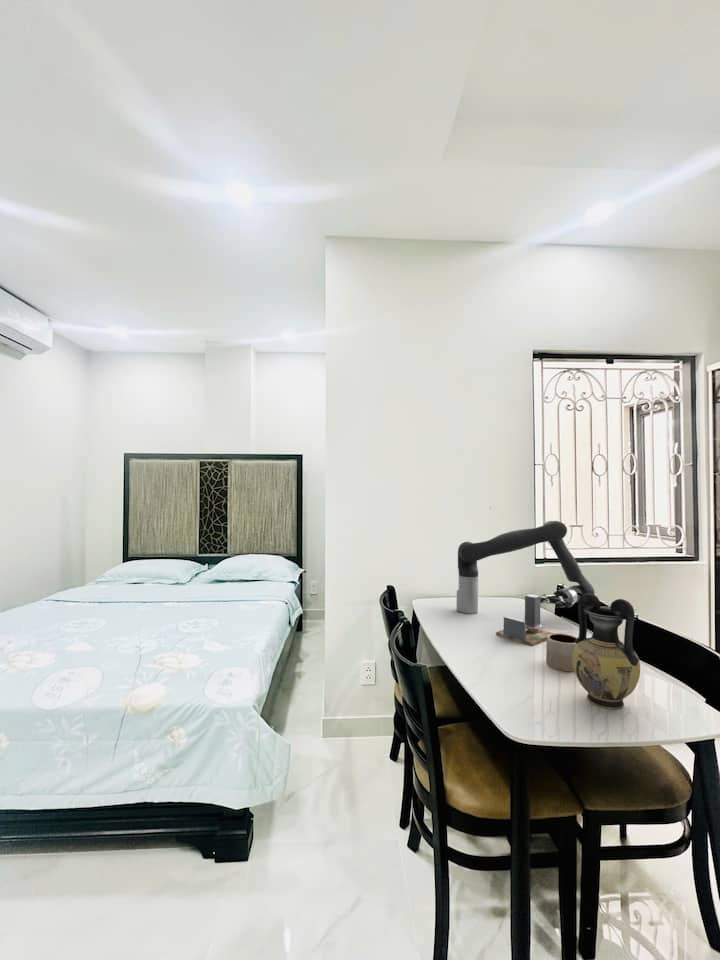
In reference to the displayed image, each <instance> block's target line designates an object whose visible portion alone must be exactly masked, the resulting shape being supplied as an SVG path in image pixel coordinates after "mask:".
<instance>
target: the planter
mask: <svg viewBox="0 0 720 960" xmlns="http://www.w3.org/2000/svg"><path fill="white" fill-rule="evenodd" d="M552 633H553V634H548V635H547V640H546V649H545V650H546V653H545V662H546V663H545V664H546V665H548V667H550V668H551V669H553V670H556V671H560V672H565V673H575V671H574V668H573V661H572V655H573V650H574V648H575V646H576V645H577V644H576V643H575V640H576V639H577V638H578V637H577V636H575V635H572V634H568V633H567V634H566V633H559V632H558V633H557V632H555V633H554V632H552Z"/></svg>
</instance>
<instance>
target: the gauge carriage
mask: <svg viewBox="0 0 720 960" xmlns="http://www.w3.org/2000/svg"><path fill="white" fill-rule="evenodd" d="M540 600H541V596H539V595H537V594H532V593H531V594H526V595H525V596H524V621H525V622H526V632H527V631H529V632H533V633H539V632H540V631H542V630H544V625H542V624H541V603H540Z"/></svg>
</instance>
